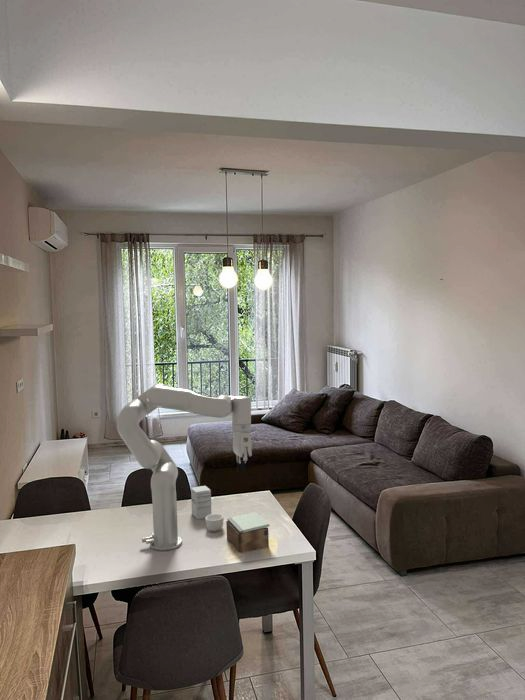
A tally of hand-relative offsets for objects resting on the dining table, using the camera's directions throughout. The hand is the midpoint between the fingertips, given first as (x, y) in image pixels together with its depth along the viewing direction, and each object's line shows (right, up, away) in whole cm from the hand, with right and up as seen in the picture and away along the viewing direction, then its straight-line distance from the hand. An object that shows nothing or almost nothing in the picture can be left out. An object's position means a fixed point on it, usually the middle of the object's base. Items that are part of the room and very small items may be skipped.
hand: (241, 472), depth 220 cm
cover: (+3, -20, 0) cm, 21 cm away
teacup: (-12, -28, +16) cm, 34 cm away
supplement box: (-19, -27, +31) cm, 45 cm away
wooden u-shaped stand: (+2, -28, 0) cm, 28 cm away
